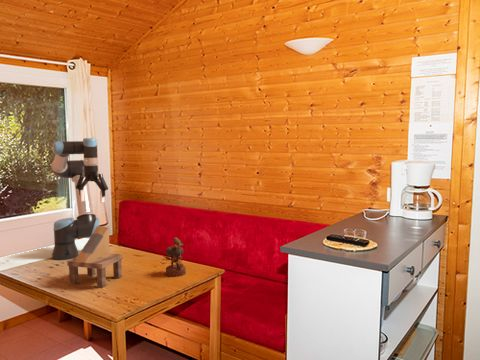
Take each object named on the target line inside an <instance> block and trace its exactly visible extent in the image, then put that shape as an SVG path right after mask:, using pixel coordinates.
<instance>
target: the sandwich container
mask: <svg viewBox="0 0 480 360" xmlns="http://www.w3.org/2000/svg"><path fill="white" fill-rule="evenodd" d="M110 253H111V252H110V229H109V227H108V226H107V227H106V226H101V225H99V226H97V228H96V229H95V231H94V232H93V234H92V236H91V237H89V239H88V240H87V242H86V243H85V244H84V246H83V248H82V249H81V251H80V252H79V253H78V254H79V255H78V256H77V258H76V257H75V258H76V260H75V261H78V262H83V263H88V262H91V261H94V260H97V259H101V258H104V257H107V256H110Z"/></svg>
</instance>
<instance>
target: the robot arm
mask: <svg viewBox="0 0 480 360" xmlns="http://www.w3.org/2000/svg"><path fill="white" fill-rule="evenodd" d="M52 152H53V154H54V158H53V160H52V161H51V164H50V169H51V172H52V173H53V174H54V175H56V176H57V177H59V178H63V179H70V180H71V182H73V183H74V189H75V196H76V206H77V211H78V215H77V216H76V219H74V218H73V217H65V218H61V219H58V220H56V221H54V223H53V236H54V237H53V239H54V245H53V246H54V247H53V250H52V253H51V259H53V260H57V261H58V260H59V261H60V260H63V261H64V260H71V259H73V258H76V257H78V255H79V254H80V253H79V250H78V247H77V245H76V240H77V239H85V238H90V237H91V236H92V234H93V232H94V231H95V229H96V228H97V226H100V219H99V218H100V217H97V215H96V214H95V213H94V212H93V206H92V199H91V192H90V186H89V182H94V183H95V185H96V186H97V187H98V188H99V190H100V191H99V195H100V197H99V198H100V203H105V197H106V191H108V190H109V187H108V184H107V182H106V180H105V178H104V174H103V173H99V166H98V164H99V160H98V139H97V138H95V137H84V138H83V140H82V141H81V140H80V141H79V140H75V141H74V140H73V141H71V140H70V141H68V140H67V141H62V140H59V141H54V142H53V143H52ZM70 155H83V159H80V160H79V159H78V160H69V157H70ZM75 239H76V240H75Z"/></svg>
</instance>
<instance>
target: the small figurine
mask: <svg viewBox="0 0 480 360" xmlns="http://www.w3.org/2000/svg"><path fill="white" fill-rule="evenodd" d="M172 240H173V243H174V245H171V246H168V247H167V248H166V249H165V254H166V255H167V256H164V255H163V258H165V259H166V260H169V261H171V262H170V265H168V266H166V268H165V275H166V277H171V278H176V277H178V278H179V277H182V276H184V275H186V274H187V273H186V271H187V270H186V268H187V267H186V266H184V263H183V262H182V261H181V260H183V257H182V255H183V254H184V248H183V247H182V246H184V245H185V244H184V243H183V242H182V241H181V239H179V238H178V237H174V238H173V239H172Z"/></svg>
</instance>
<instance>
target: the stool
mask: <svg viewBox="0 0 480 360" xmlns="http://www.w3.org/2000/svg"><path fill="white" fill-rule="evenodd" d="M77 257H78V256H77ZM77 257H75V258H71V259H67V260H66V264H67V265H66V266H68V274H69V275H68V276H69V277H68V279H69V285H73V286H75V285H77V284H79V283H80V281H79V268H84V269H85V268H86V270H87V271H86V272H87V276H88V275H89V276H91V277H93V276H95V275H96V287H97V288H101V289H103V288H106V286H107V278H106V277H107V276H106V275H107V274H106V271H107V270H106V268H107V267H109V266H111V265H112V266H113V270H112V271H113V272H112V273H113V279H116V280H117V279H121V278H122V277H123V273H122V272H123V270H122V268H123V267H122V259H123V257H124V256H123V254H121V253H111V252H110V256H107V257H104V258H101V259H97V260H94V261H91V262H88V263H83V262H78V261H75V260H76V258H77ZM89 276H88V277H89Z"/></svg>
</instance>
